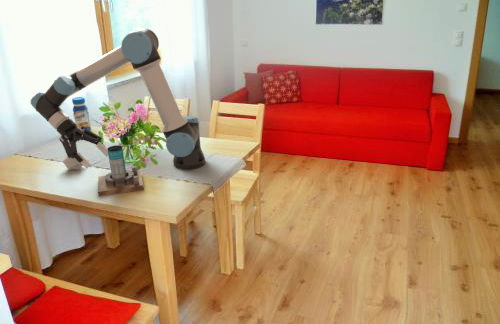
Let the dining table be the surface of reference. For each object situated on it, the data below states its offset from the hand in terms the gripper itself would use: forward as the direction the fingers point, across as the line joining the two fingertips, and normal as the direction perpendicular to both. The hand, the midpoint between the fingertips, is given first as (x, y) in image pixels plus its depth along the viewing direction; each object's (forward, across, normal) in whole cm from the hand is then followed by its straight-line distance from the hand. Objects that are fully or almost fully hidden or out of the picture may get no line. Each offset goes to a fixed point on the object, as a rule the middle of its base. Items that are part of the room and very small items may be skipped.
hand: (99, 160), depth 176 cm
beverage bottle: (-32, -60, -47) cm, 82 cm away
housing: (+14, 0, -1) cm, 14 cm away
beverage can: (+12, 0, 0) cm, 12 cm away
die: (-8, -10, -24) cm, 27 cm away
